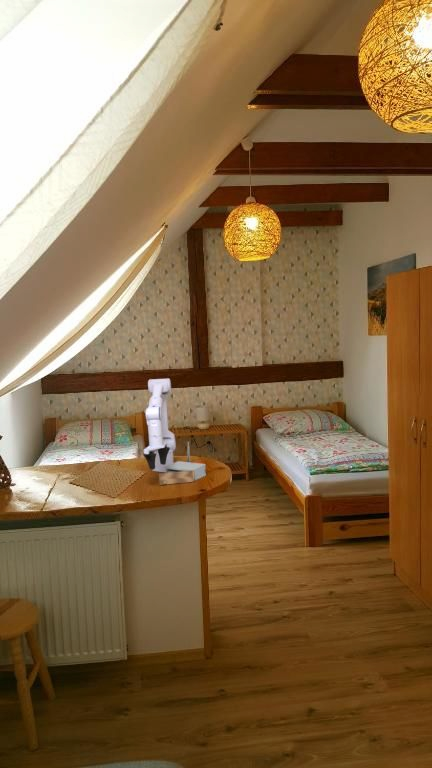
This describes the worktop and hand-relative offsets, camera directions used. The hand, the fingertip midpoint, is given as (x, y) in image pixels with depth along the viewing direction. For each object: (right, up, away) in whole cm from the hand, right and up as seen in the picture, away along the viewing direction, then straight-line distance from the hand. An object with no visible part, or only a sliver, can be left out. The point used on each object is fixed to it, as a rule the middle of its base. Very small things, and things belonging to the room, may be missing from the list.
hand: (157, 466), depth 239 cm
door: (+8, -8, +6) cm, 13 cm away
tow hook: (+15, -5, +32) cm, 36 cm away
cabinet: (+11, -7, +17) cm, 21 cm away
